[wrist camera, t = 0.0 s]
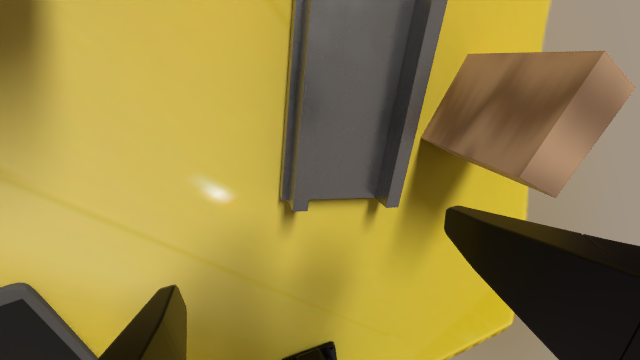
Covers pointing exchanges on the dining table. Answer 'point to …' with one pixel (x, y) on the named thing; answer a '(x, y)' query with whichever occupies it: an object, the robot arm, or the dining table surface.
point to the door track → (355, 96)
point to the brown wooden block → (529, 113)
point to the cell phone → (35, 328)
